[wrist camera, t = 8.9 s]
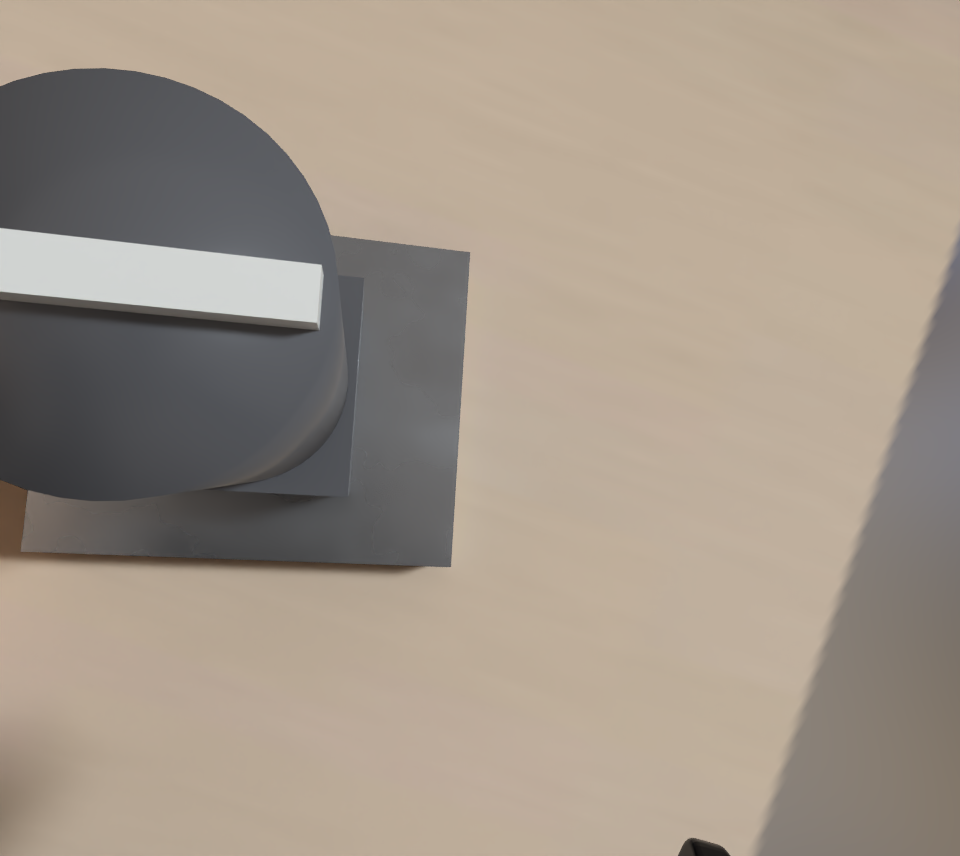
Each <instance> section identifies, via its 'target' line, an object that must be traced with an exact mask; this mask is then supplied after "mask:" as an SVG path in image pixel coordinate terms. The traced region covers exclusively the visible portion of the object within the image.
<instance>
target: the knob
mask: <svg viewBox="0 0 960 856" xmlns="http://www.w3.org/2000/svg"><path fill="white" fill-rule="evenodd" d="M363 301H364V278H359V277H351V276H342V275H338V274H337V266H336V258H335V251H334V247H333V243H332V240H331V236H330V232H329V228H328V225H327V222H326V220H325V218H324V215H323V213H322V210H321V208H320V205H319V203H318V201H317V199H316V197H315V195H314V193H313V192H312V190H311V188H310V186H309V185H308V183H307V181H306V179H305V178H304V176H303V175H302V173H301V172H300V171H299V169H298V168H297V167H296V165H295V164H294V163H293V162H292V160H291V159H290V158H289V156H288V155H287V154H286V153H285V152H284V151H283V150H282V149H281V148H280V146H279V145H278V144H277V143H276V142H275V141H274V140H273V139H272V138H271V137H270V136H269V135H268V134H267V133H266V132H264V131H263V130H262V129H261V128H259V127H258V126H257V125H256V124H255V123H253V122H252V121H251V120H250V119H248V118H247V117H246V116H245V115H243V114H241V113H240V112H238V111H237V110H235V109H233V108H232V107H230V106H229V105H227V104H225V103H224V102H222V101H221V100H219V99H217V98H215V97H212V96H210V95H208V94H206V93H204V92H202V91H200V90H198V89H196V88H194V87H191V86H188V85H185V84H182V83H179V82H176V81H173V80H170V79H167V78H164V77H159V76H155V75H150V74H145V73H141V72H136V71H127V70H117V69H106V68H99V69H70V70H63V71H56V72H49V73H43V74H39V75H35V76H31V77H27V78H24V79H20V80H16V81H13V82H10V83H8V84H5V85H3V86H0V480H2V481H5V482H8V483H10V484H13V485H16V486H18V487H21V488H24V489H26V490H29V491H34V492H38V493H42V494H46V495H51V496H55V497H59V498H67V499H76V500H85V501H126V500H134V499H141V498H149V497H156V496H163V495H169V494H176V493H183V492H189V491H196V490H220V491H239V492H258V493H277V494H296V495H314V496H333V497H348V495H349V492H350V479H351V466H352V453H353V439H354V426H355V413H356V399H357V386H358V373H359V359H360V346H361V333H362V319H363Z"/></svg>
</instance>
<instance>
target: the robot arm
mask: <svg viewBox="0 0 960 856" xmlns="http://www.w3.org/2000/svg"><path fill="white" fill-rule="evenodd" d="M678 856H730V855H729V853H728V852H727V851H726V850H725V849H724V848H723V847H722V846H720V845H717V844H714V843H710V842H707V841H703V840H699V839H696V838H690V839H688V840H686V841H685V843H684V844H683V846H682V848H681V850H680V852H679V854H678Z"/></svg>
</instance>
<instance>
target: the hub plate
mask: <svg viewBox="0 0 960 856" xmlns="http://www.w3.org/2000/svg"><path fill="white" fill-rule="evenodd" d="M330 236H331V240H332V243H333V247H334V251H335V258H336V266H337V274H338V275H342V276H351V277H359V278H364V301H363V319H362V333H361V346H360V359H359V373H358V386H357V399H356V413H355V426H354V439H353V453H352V466H351V479H350V492H349V495H348V497H333V496H314V495H296V494H277V493H258V492H239V491H220V490H196V491H189V492H183V493H176V494H169V495H163V496H156V497H149V498H141V499H134V500H126V501H85V500H76V499H67V498H59V497H55V496H51V495H46V494H42V493H38V492H34V491H29V490H28V494H27V502H26V511H25V519H24V527H23V536H22V544H21V552H46V553H74V554H102V555H129V556H157V557H185V558H213V559H240V560H268V561H296V562H324V563H351V564H379V565H407V566H435V567H451V555H452V539H453V522H454V506H455V490H456V473H457V457H458V441H459V424H460V408H461V392H462V375H463V359H464V343H465V326H466V310H467V294H468V277H469V261H470V252H462V251H454V250H446V249H438V248H429V247H421V246H413V245H405V244H397V243H389V242H381V241H372V240H364V239H356V238H348V237H340V236H332V235H330Z"/></svg>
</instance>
